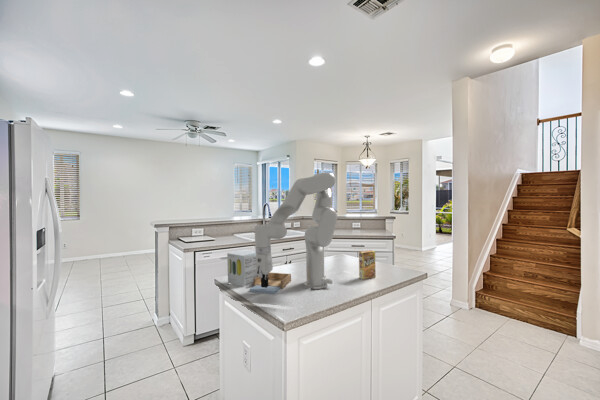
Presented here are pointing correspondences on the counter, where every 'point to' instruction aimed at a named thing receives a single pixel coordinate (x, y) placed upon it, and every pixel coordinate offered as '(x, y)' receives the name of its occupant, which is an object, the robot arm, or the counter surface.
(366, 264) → the candy box
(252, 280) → the supplement box
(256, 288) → the panel
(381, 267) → the counter surface
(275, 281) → the crate
